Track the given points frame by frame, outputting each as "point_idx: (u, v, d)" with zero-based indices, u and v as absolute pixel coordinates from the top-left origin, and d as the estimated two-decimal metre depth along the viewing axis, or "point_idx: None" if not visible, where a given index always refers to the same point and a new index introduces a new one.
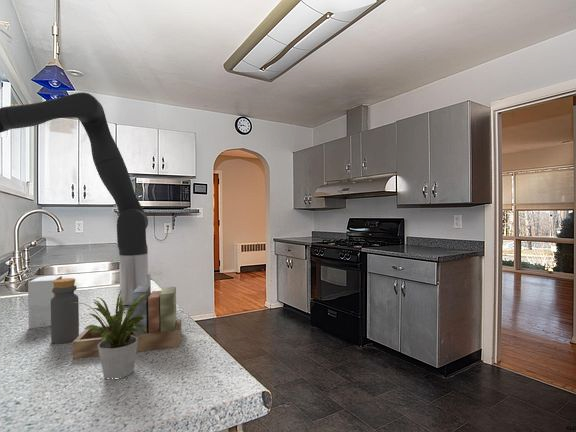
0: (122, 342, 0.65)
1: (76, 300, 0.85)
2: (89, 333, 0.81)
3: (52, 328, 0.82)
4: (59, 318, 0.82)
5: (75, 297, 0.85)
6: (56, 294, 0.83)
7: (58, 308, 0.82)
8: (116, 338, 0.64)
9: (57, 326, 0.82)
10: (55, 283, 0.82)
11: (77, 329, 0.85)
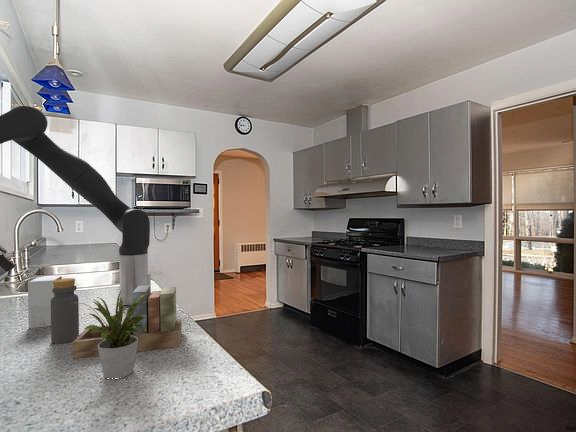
0: (122, 342, 0.65)
1: (76, 300, 0.85)
2: (89, 333, 0.81)
3: (52, 328, 0.82)
4: (59, 318, 0.82)
5: (75, 297, 0.85)
6: (56, 294, 0.83)
7: (58, 308, 0.82)
8: (116, 338, 0.64)
9: (57, 326, 0.82)
10: (55, 283, 0.82)
11: (77, 329, 0.85)
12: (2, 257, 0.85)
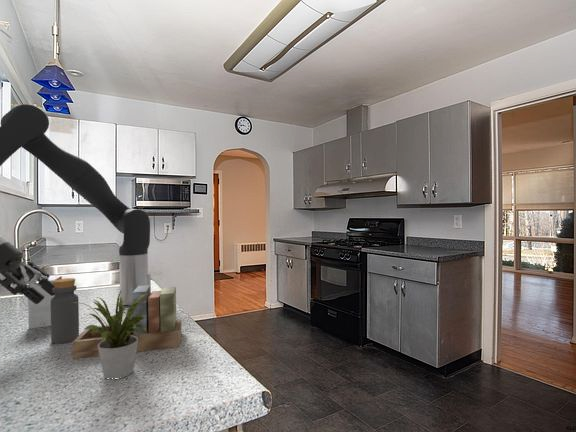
0: (122, 342, 0.65)
1: (76, 300, 0.85)
2: (89, 333, 0.81)
3: (52, 328, 0.82)
4: (59, 318, 0.82)
5: (75, 297, 0.85)
6: (56, 294, 0.83)
7: (58, 308, 0.82)
8: (116, 338, 0.64)
9: (57, 326, 0.82)
10: (55, 283, 0.82)
11: (77, 329, 0.85)
12: (46, 282, 0.87)
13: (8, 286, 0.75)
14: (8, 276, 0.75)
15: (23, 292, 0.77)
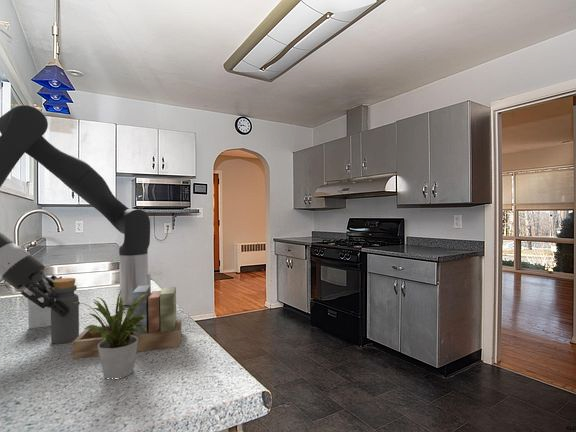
0: (122, 342, 0.65)
1: (76, 300, 0.84)
2: (89, 333, 0.81)
3: (52, 328, 0.82)
4: (59, 318, 0.82)
5: (75, 297, 0.84)
6: (56, 294, 0.82)
7: None
8: (116, 338, 0.64)
9: (57, 326, 0.82)
10: (55, 283, 0.82)
11: (77, 329, 0.85)
12: None
13: (36, 301, 0.78)
14: (36, 291, 0.77)
15: (51, 305, 0.80)
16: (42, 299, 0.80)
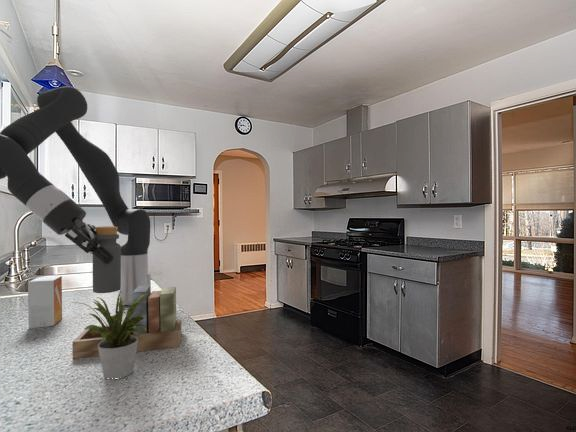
0: (122, 342, 0.65)
1: (119, 249, 0.79)
2: (89, 333, 0.81)
3: (94, 277, 0.77)
4: (102, 266, 0.77)
5: (118, 246, 0.79)
6: (99, 241, 0.78)
7: None
8: (116, 338, 0.64)
9: (100, 275, 0.77)
10: (98, 229, 0.77)
11: (119, 280, 0.80)
12: None
13: (80, 244, 0.73)
14: (80, 234, 0.72)
15: (94, 251, 0.75)
16: (85, 244, 0.75)
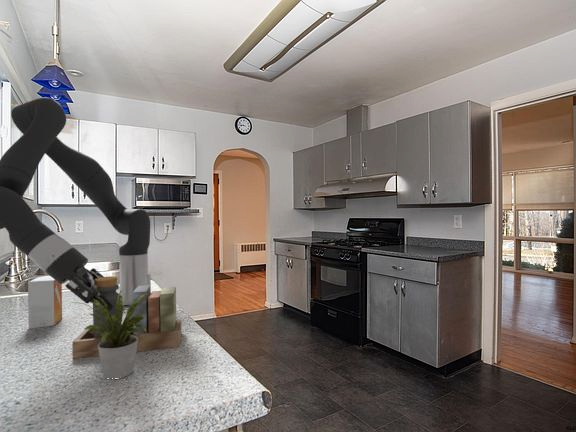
0: (122, 342, 0.65)
1: (119, 300, 0.79)
2: (89, 333, 0.81)
3: None
4: (103, 319, 0.77)
5: None
6: None
7: None
8: (116, 338, 0.64)
9: None
10: (97, 282, 0.77)
11: None
12: None
13: (80, 295, 0.72)
14: (80, 284, 0.72)
15: (94, 301, 0.74)
16: (86, 293, 0.75)
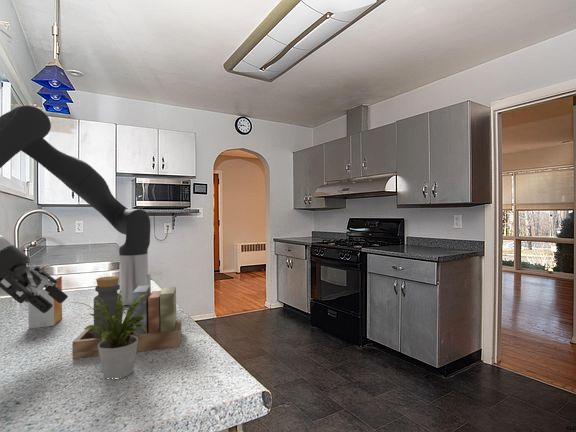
0: (122, 342, 0.65)
1: None
2: (89, 333, 0.81)
3: (95, 329, 0.77)
4: (103, 319, 0.77)
5: None
6: (100, 293, 0.78)
7: None
8: (116, 338, 0.64)
9: (101, 327, 0.77)
10: (99, 281, 0.77)
11: None
12: (54, 288, 0.80)
13: (14, 294, 0.69)
14: (14, 283, 0.69)
15: (30, 300, 0.71)
16: (22, 293, 0.72)
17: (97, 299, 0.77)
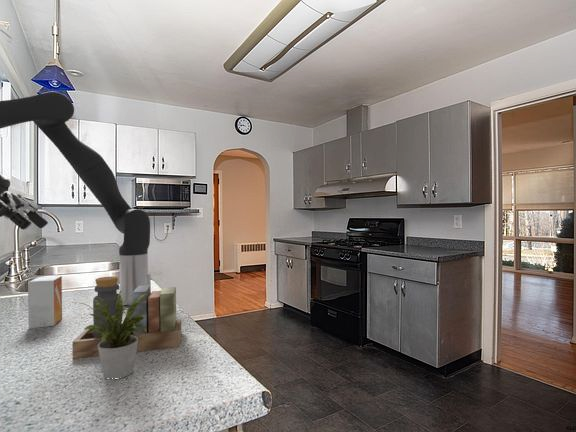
0: (122, 342, 0.65)
1: (119, 300, 0.79)
2: (89, 333, 0.81)
3: (95, 329, 0.77)
4: (103, 319, 0.77)
5: None
6: (99, 293, 0.78)
7: None
8: (116, 338, 0.64)
9: None
10: (98, 282, 0.77)
11: None
12: (35, 214, 0.84)
13: None
14: None
15: (9, 216, 0.75)
16: None
17: (96, 299, 0.77)
